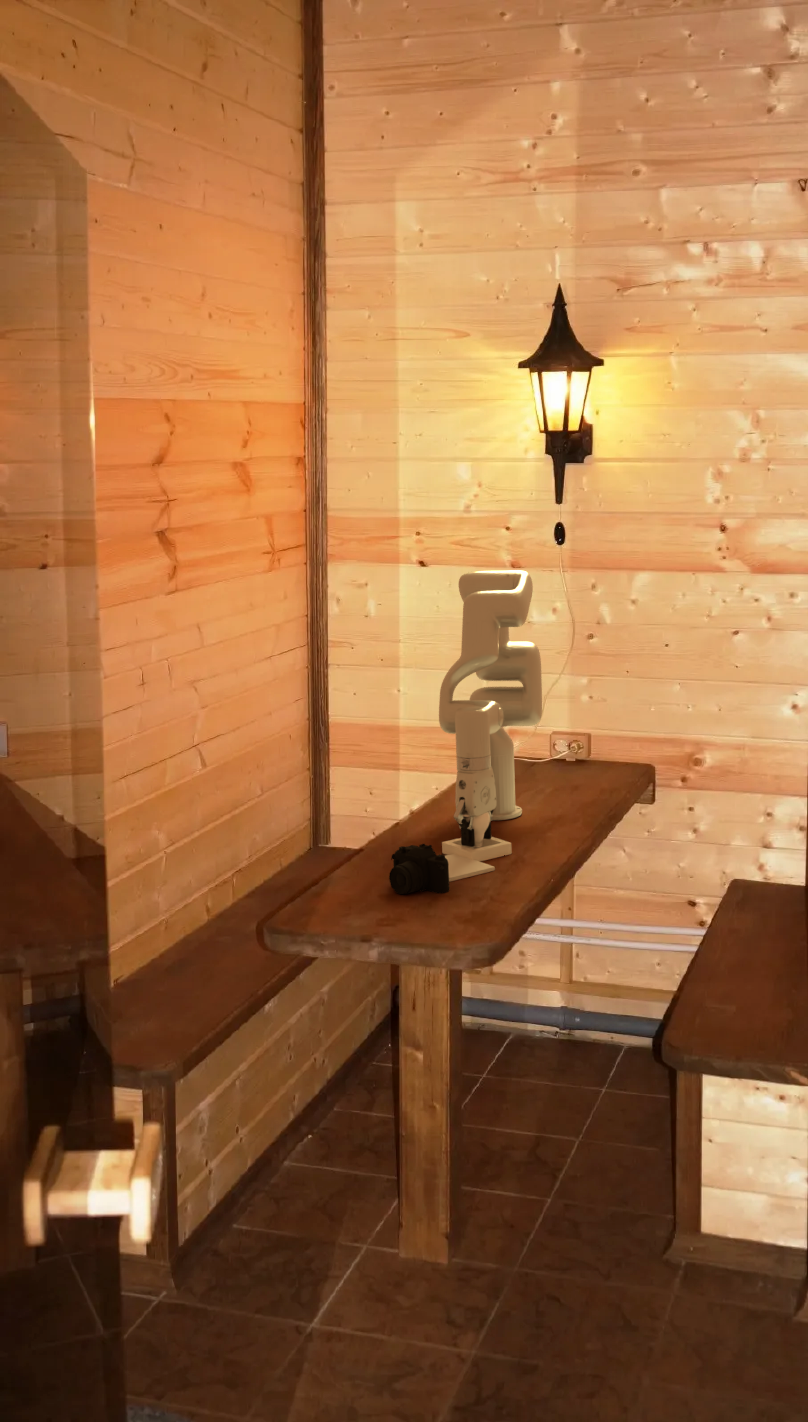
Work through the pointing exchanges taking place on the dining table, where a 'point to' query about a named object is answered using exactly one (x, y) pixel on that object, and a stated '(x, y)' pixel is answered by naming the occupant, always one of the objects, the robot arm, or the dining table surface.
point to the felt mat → (465, 867)
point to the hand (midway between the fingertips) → (476, 841)
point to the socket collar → (488, 851)
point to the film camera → (419, 870)
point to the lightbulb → (479, 828)
